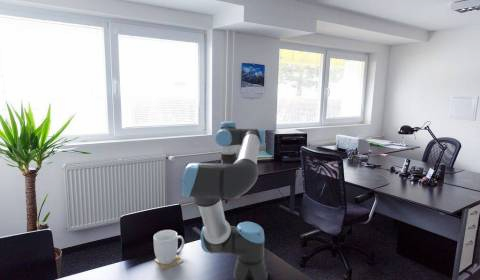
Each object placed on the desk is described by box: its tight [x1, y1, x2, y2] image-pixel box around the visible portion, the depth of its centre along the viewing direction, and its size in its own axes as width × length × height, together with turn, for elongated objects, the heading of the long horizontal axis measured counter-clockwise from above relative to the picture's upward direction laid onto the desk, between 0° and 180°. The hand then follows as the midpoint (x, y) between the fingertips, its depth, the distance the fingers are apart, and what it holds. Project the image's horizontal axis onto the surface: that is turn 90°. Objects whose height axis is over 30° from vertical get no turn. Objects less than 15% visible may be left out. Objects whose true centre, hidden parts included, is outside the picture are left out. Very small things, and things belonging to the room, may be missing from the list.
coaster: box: [154, 254, 184, 271], centre depth 143 cm, size 10×10×1 cm
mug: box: [152, 229, 185, 264], centre depth 142 cm, size 15×11×13 cm
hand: (228, 193), depth 152 cm, fingers open, 13 cm apart
